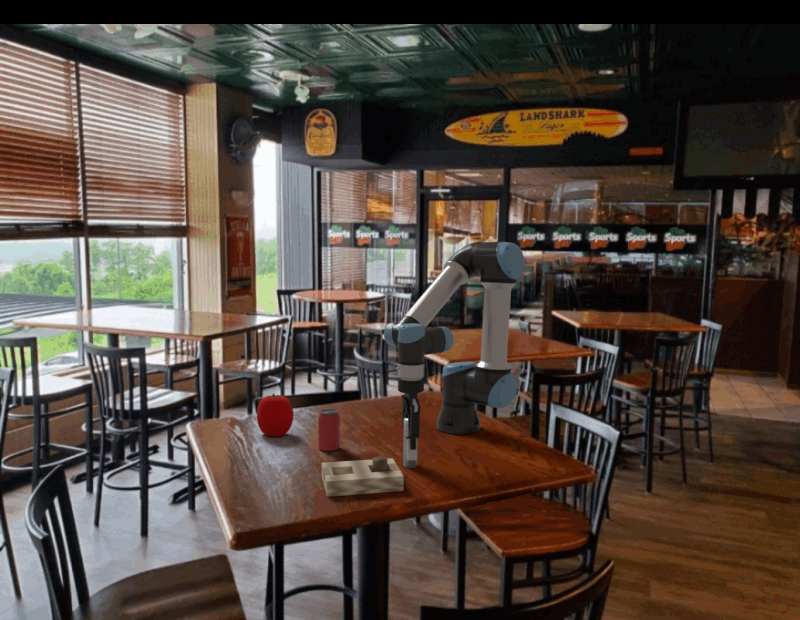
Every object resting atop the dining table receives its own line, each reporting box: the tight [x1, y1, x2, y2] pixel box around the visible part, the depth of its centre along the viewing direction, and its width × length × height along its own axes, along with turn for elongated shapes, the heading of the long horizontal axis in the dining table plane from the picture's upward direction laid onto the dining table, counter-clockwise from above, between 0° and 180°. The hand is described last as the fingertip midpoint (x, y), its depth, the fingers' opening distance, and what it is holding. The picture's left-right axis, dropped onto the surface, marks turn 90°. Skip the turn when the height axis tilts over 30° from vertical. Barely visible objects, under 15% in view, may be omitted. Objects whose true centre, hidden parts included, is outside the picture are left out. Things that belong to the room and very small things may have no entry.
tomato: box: [256, 393, 294, 438], centre depth 215 cm, size 13×11×14 cm
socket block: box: [321, 456, 404, 497], centre depth 174 cm, size 20×14×6 cm
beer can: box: [317, 408, 341, 452], centre depth 202 cm, size 7×7×12 cm
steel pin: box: [402, 417, 418, 469], centre depth 187 cm, size 4×4×14 cm
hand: (410, 456), depth 188 cm, fingers closed on steel pin, 4 cm apart
